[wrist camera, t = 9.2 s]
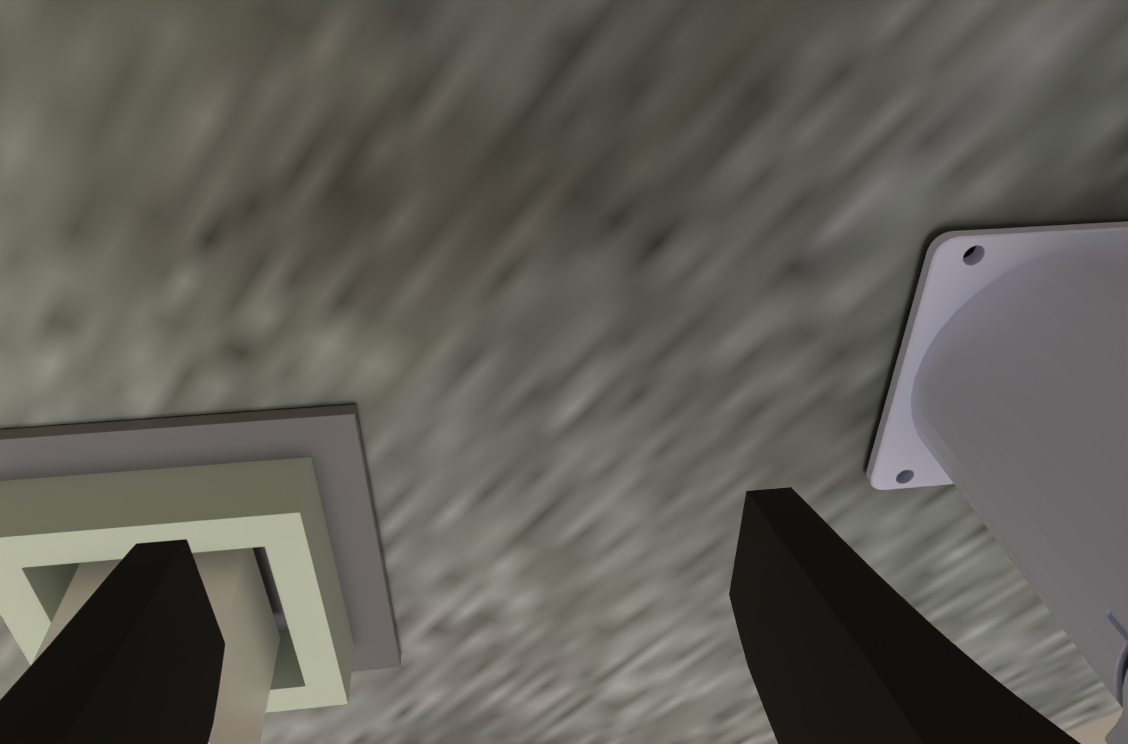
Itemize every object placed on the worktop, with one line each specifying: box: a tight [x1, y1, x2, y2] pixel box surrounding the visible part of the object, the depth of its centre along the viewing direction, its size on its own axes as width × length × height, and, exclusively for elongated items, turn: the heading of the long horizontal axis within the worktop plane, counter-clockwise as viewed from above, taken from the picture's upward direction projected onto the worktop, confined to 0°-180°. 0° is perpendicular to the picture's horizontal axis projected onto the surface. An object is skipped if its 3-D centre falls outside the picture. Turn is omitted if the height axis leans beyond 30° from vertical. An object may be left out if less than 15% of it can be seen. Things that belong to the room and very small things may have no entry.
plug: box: [31, 548, 280, 744], centre depth 20 cm, size 4×4×6 cm
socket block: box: [0, 404, 401, 713], centre depth 22 cm, size 10×10×2 cm
